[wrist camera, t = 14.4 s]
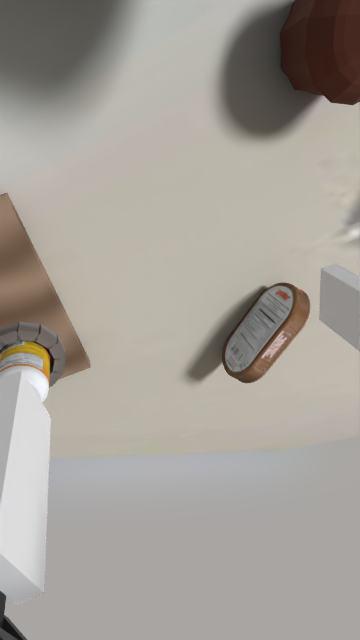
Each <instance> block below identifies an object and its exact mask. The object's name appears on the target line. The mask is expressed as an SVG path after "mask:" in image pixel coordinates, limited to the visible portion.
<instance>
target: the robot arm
mask: <svg viewBox="0 0 360 640" xmlns="http://www.w3.org/2000/svg"><path fill="white" fill-rule="evenodd" d="M319 320H321V321H322V322H323V323H324V324H326V325H327V326H328V327H329V328H331V329H332V330H333V331H334V332H336V333H337V334H338V335H340V336H341V337H342V338H343V339H345V340H346V341H347V342H348V343H350V344H351V345H352V346H354V347H355V348H356V349H357V350H359V351H360V276H359V275H357V274H355V273H353V272H351V271H350V270H348V269H346V268H344V267H342V266H340V265H338V264H333V265H330V266H327V267H324V268H321V282H320V318H319ZM50 425H51V417H50V415H49V413H48V412H47V410H46V409H45V407H44V405H43V404H42V402H41V400H40V399H39V397H38V396H37V394H36V392H35V391H34V389H33V387H32V386H31V384H30V383H29V381H28V379H27V378H26V376H25V375H24V373H23V371H22V370H21V371H19V372H16V373H13V374H10V375H7V376H4V377H2V379H1V384H0V640H27V639H26V638H25V637H24V636H23V634H22V633H21V632H20V631H19V630H18V629H17V628H16V626H15V625H14V624H13V623H12V622H11V621H10V620H9V618H8V617H6V616H5V615H4V610H5V600H6V598H8V599H9V600H10V601H11V602H13V603H14V604H15V605H17V604H19V603H22V602H24V601H26V600H29V599H31V598H33V597H36V596H38V595H40V594H43V593H44V581H45V556H46V530H47V501H48V477H49V451H50Z"/></svg>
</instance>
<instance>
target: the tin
mask: <svg viewBox="0 0 360 640" xmlns="http://www.w3.org/2000/svg"><path fill="white" fill-rule="evenodd" d="M309 313H310V300H309V298H308V296H307V294H306V293H305V292H304V291H302V290H300V289H298V288H297V287H295V286H294V285H292V284H289V283H278V284H275V285H273V286H271V287H269V288H268V289H267V290H265V291H264V292H263V293H262V294H261V295H260V297H259V298H258V299H257V301H256V302H255V303H254V305H253V306H252V307H251V308H250V310H249V311H248V312H247V314H246V315H245V316H244V318H243V319H242V320H241V322H240V323H239V324H238V326H237V327H236V328H235V330H234V331H233V332H232V334H231V335H230V337H229V338H228V340H227V342H226V344H225V347H224V350H223V355H222V362H223V365H224V368H225V370H226V372H227V373H228V374H229V375H230V376H232V377H234V378H236V379H238V380H239V381H241V382H243V383H252V382H255V381H257V380H258V379H260V378H261V377H263V376H264V375H265V374H266V372H267V371H268V370H269V369H270V368H271V366H272V365H273V364H274V363H275V361H276V360H277V359H278V358H279V356H280V355H281V354H282V353H283V351H284V350H285V349H286V348H287V347H288V345H289V344H290V343H291V342H292V341H293V339H294V338H295V337H296V336H297V335H298V333H299V332H300V331H301V330H302V328H303V327H304V325H305V323H306V321H307V319H308V316H309Z"/></svg>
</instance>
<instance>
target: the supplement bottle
mask: <svg viewBox="0 0 360 640" xmlns="http://www.w3.org/2000/svg"><path fill="white" fill-rule="evenodd" d="M21 370H22V371H23V373H24V375H25V376H26V378H27V379H28V381H29V383H30V384H31V386H32V387H33V389H34V391H35V392H36V394H37V396H38V397H39V399H40V400H41V402H43V401H44V400H45V399H46V397H47V395H48V391H49V375H50V351H49V349H48V348H46V347H45V346H43V345H41V344H39V343H38V342H36V341H25V340H18V341H15V342H12V343H10V344H7V345H4V346H3V348H2V350H1V353H0V384H1V379H2V377H4V376H7V375H10V374H13V373H16V372H19V371H21Z"/></svg>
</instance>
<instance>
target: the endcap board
mask: <svg viewBox="0 0 360 640" xmlns="http://www.w3.org/2000/svg"><path fill="white" fill-rule="evenodd" d="M18 340H25V341H36V342H38V343H39V344H41V345H43V346H45V347H46V348H48V349H49V351H50V375H49V388H50V386H53V384H54V383H55V382H56V381H57V380H58V379H61V378H64V377H66V376H69V375H71V374H74V373H77V372H79V371H82V370H85V369H87V368H90V360H89V358H88V356H87V354H86V352H85V350H84V348H83V346H82V344H81V342H80V340H79V338H78V336H77V334H76V332H75V330H74V328H73V326H72V324H71V322H70V320H69V318H68V316H67V314H66V312H65V310H64V308H63V305H62V303H61V301H60V299H59V297H58V295H57V293H56V291H55V289H54V287H53V285H52V283H51V281H50V279H49V277H48V275H47V273H46V271H45V269H44V267H43V265H42V263H41V261H40V259H39V257H38V255H37V253H36V251H35V249H34V246H33V244H32V242H31V240H30V238H29V236H28V234H27V232H26V230H25V228H24V226H23V224H22V222H21V220H20V218H19V216H18V214H17V212H16V210H15V208H14V206H13V204H12V202H11V200H10V198H9V196H8V194H7V193H5V194H2V195H0V353H1V350H2V348H3V346H4V345H7V344H10V343H12V342H15V341H18Z"/></svg>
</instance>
